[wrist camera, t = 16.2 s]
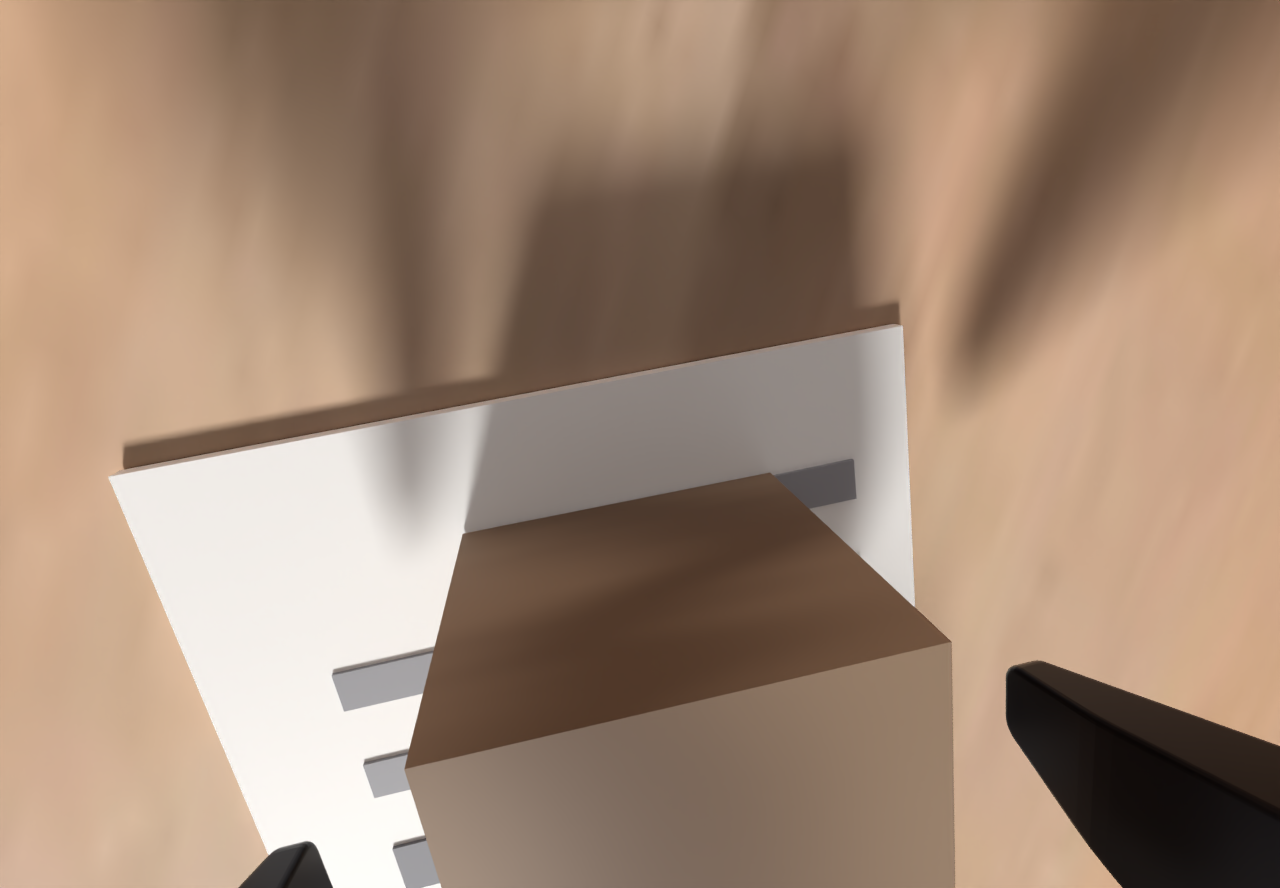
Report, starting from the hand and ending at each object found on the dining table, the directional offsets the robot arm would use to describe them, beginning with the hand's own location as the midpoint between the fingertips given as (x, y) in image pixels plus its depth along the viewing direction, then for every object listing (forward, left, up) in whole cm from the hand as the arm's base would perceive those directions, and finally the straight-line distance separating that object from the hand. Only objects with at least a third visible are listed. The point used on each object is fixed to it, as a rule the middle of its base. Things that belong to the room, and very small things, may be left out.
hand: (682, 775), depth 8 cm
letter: (+1, +1, -4) cm, 4 cm away
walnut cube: (0, 0, -3) cm, 3 cm away
